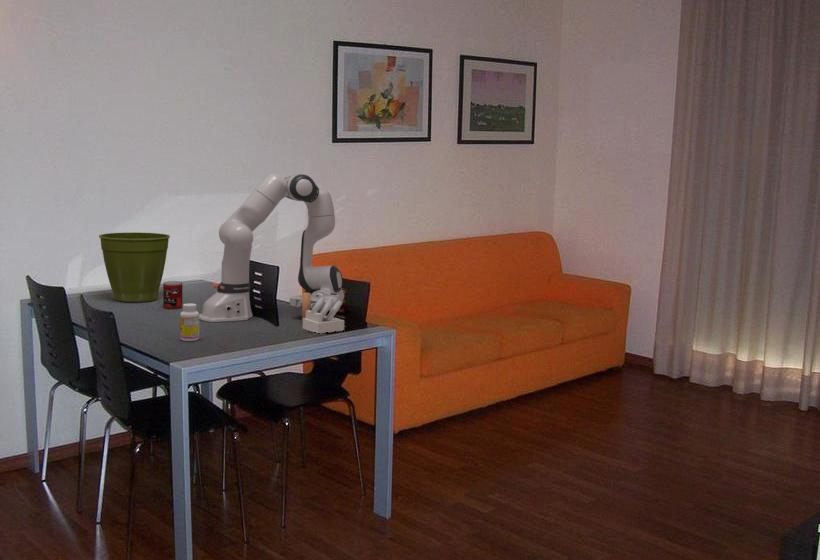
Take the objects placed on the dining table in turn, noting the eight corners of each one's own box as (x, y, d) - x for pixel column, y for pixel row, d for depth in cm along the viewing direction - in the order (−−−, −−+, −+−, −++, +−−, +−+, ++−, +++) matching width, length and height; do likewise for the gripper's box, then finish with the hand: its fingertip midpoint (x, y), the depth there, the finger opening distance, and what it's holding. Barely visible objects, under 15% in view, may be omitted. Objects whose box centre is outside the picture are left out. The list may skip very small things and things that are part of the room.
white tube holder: (318, 333, 324) (318, 300, 322) (302, 328, 332) (303, 296, 330) (347, 330, 333) (348, 297, 331) (331, 324, 341) (332, 293, 339)
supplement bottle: (181, 337, 309) (181, 302, 307) (200, 337, 310) (200, 303, 308) (178, 341, 303) (178, 305, 301) (197, 341, 303) (197, 306, 301)
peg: (304, 323, 340) (305, 294, 338) (300, 322, 342) (301, 292, 341) (311, 322, 342) (312, 293, 340) (307, 321, 344) (307, 292, 343)
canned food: (159, 308, 362) (159, 282, 360) (171, 305, 369) (171, 280, 367) (174, 310, 359) (174, 284, 357) (186, 307, 366) (186, 282, 364)
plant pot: (181, 302, 378) (180, 237, 373) (114, 307, 359) (113, 240, 355) (154, 291, 400) (153, 231, 396) (90, 296, 382) (89, 232, 377)
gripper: (298, 290, 356) (282, 295, 343) (343, 295, 349) (328, 300, 336) (298, 305, 357) (282, 310, 344) (342, 310, 350) (327, 316, 337)
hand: (305, 305), depth 340 cm, fingers closed on peg, 3 cm apart
